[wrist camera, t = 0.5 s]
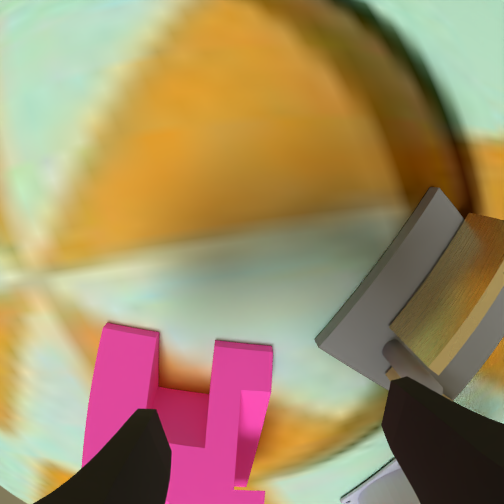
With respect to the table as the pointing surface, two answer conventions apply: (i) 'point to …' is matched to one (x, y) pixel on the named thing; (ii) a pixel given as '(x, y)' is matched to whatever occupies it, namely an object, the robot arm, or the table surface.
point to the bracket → (185, 412)
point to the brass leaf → (455, 293)
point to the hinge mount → (394, 301)
